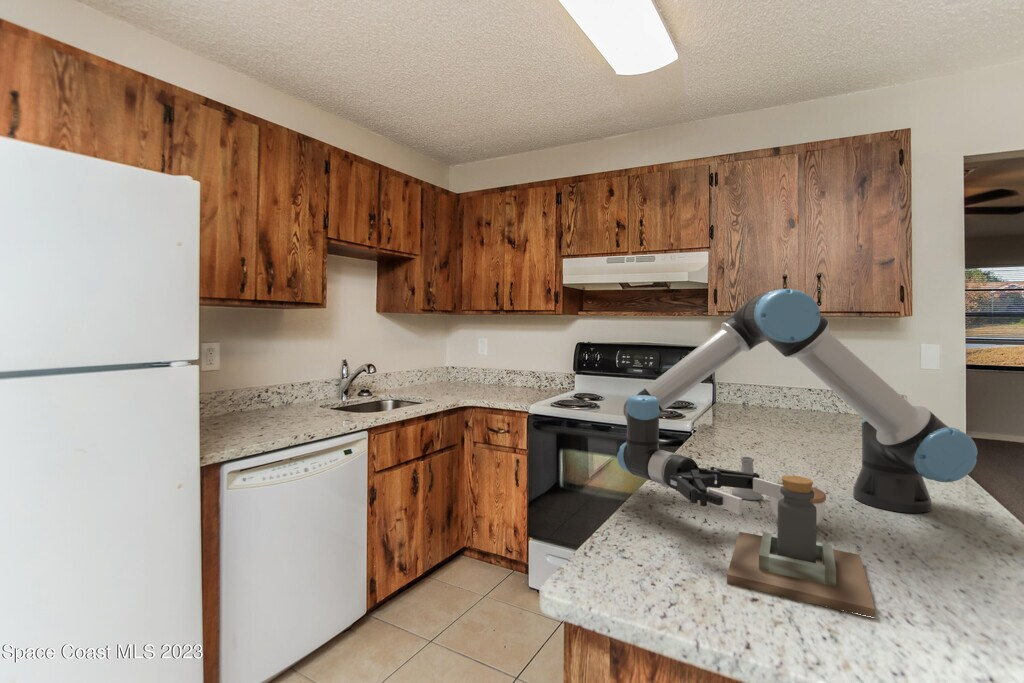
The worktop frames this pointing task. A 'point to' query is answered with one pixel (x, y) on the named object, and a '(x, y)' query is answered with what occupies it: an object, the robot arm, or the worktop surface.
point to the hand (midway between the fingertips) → (764, 499)
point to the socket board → (801, 574)
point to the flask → (742, 492)
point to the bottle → (797, 520)
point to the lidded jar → (817, 501)
